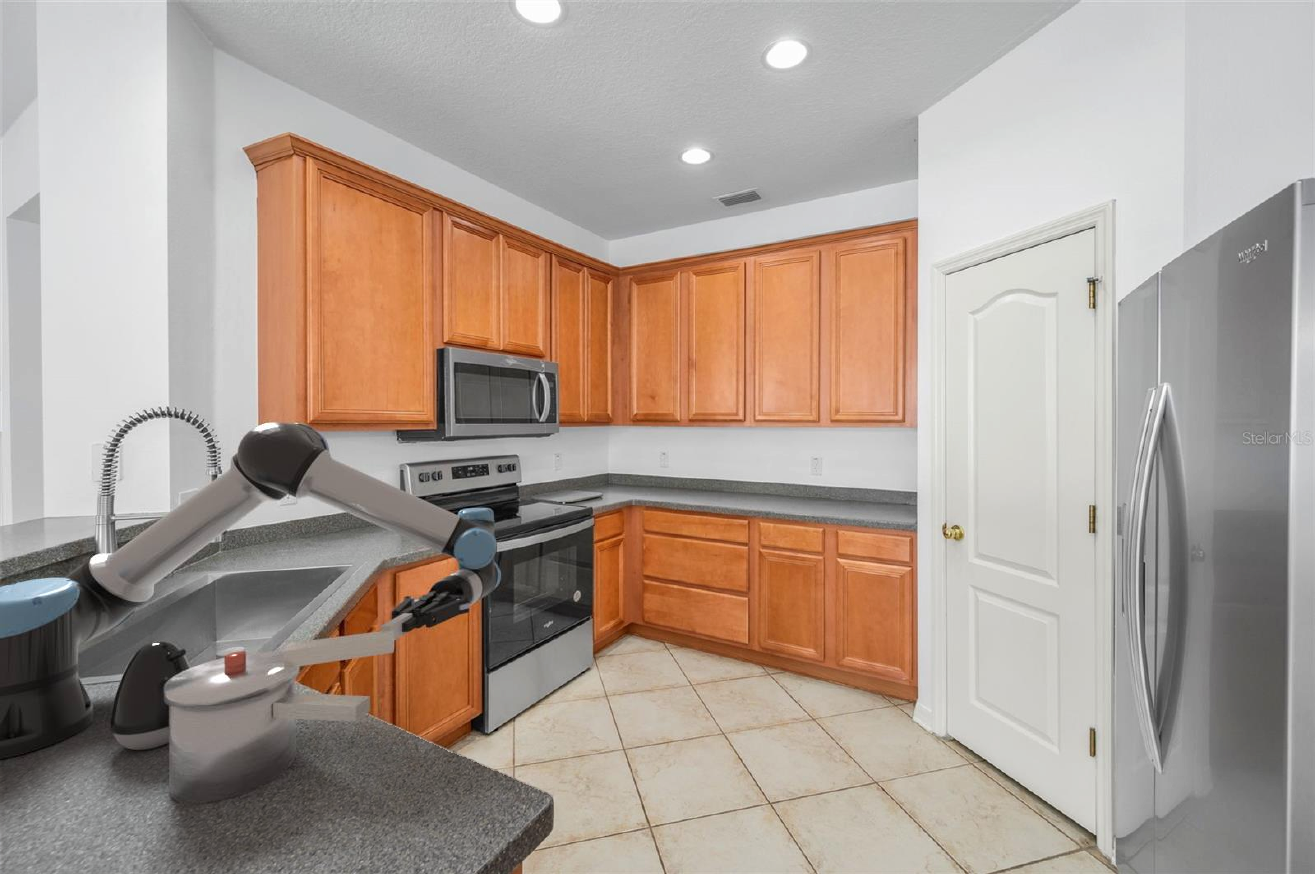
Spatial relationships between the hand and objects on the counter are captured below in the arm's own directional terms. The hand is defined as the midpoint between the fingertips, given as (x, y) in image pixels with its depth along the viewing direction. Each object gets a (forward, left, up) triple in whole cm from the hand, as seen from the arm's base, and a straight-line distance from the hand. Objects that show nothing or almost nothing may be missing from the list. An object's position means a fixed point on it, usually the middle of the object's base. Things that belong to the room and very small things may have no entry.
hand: (385, 634), depth 88 cm
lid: (-10, -9, -3) cm, 13 cm away
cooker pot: (-9, -12, -15) cm, 21 cm away
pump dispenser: (-34, -6, -16) cm, 38 cm away
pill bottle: (-32, +5, -16) cm, 36 cm away
